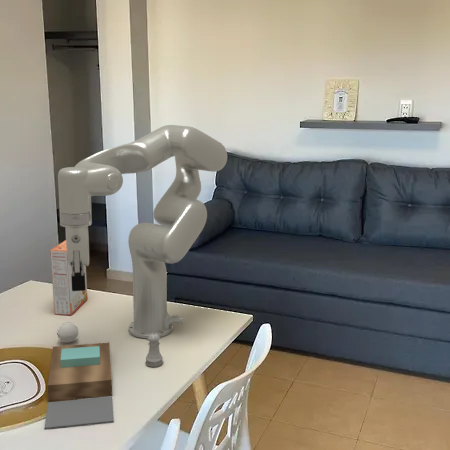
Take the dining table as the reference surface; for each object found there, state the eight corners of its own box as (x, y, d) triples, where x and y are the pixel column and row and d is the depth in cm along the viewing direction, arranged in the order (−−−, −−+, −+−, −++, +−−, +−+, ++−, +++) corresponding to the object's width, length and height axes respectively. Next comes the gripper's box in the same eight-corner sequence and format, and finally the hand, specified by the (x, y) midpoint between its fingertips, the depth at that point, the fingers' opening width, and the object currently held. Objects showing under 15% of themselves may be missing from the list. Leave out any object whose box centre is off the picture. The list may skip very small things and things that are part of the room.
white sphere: (59, 338, 164) (58, 319, 162) (80, 337, 164) (79, 318, 163) (54, 350, 156) (53, 330, 155) (76, 349, 157) (75, 330, 156)
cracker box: (70, 298, 193) (67, 237, 188) (88, 299, 192) (85, 238, 187) (52, 314, 180) (49, 249, 175) (71, 316, 179) (68, 250, 174)
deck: (109, 356, 153) (109, 342, 152) (112, 395, 134) (111, 379, 133) (53, 361, 150) (53, 346, 149) (48, 401, 131) (47, 385, 130)
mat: (112, 398, 133) (112, 396, 133) (113, 422, 124) (113, 420, 124) (48, 404, 130) (47, 402, 130) (44, 429, 121) (44, 427, 121)
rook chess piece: (155, 369, 147) (155, 339, 145) (141, 364, 149) (141, 335, 147) (166, 362, 151) (166, 333, 149) (152, 358, 153) (152, 329, 151)
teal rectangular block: (99, 353, 146) (99, 346, 146) (99, 364, 140) (99, 356, 140) (62, 356, 144) (61, 348, 144) (60, 367, 138) (60, 359, 138)
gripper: (91, 225, 137) (94, 299, 141) (91, 211, 151) (94, 279, 155) (58, 226, 135) (61, 301, 139) (61, 212, 149) (64, 280, 153)
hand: (78, 289), depth 147 cm, fingers closed
